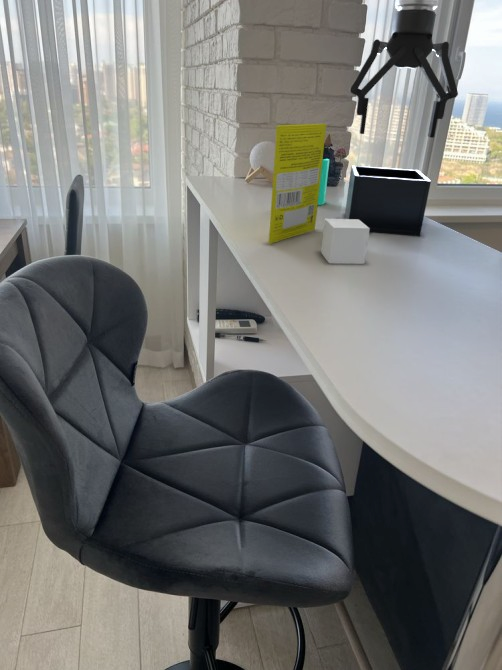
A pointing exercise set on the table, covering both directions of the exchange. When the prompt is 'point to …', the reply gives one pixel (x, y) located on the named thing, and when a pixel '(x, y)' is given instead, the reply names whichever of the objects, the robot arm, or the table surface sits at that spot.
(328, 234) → the white cube
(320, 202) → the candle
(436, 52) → the robot arm
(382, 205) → the black open storage box
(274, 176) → the food package
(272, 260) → the table surface
